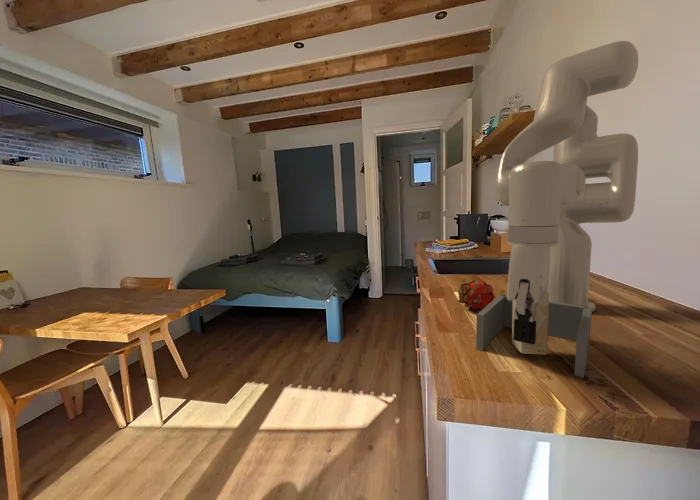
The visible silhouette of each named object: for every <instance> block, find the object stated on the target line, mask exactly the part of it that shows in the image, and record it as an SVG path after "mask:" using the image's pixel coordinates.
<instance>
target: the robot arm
mask: <svg viewBox="0 0 700 500" xmlns="http://www.w3.org/2000/svg"><path fill="white" fill-rule="evenodd" d="M638 68H639V53H638V50H637V48H636V46H635V45H634V44H633V43H632V42H630V41H627V40H617V41H614V42H610V43H607V44H603V45H600V46H597V47H594V48H591V49H588V50H585V51H582V52H581V51H580V52H578V53H575V54H572V55H569V56H566V57H564V58H562V59H560V60H557V61H556V62H554V63H553V64H551V65H550V66H549V67H548V68H547V69H546V71H545V72H544V74H543V77H542V78H541V81H540V82H541V83H540V89H539V93H538V97H537V103H536V106H535V107H536V108H535V112H534V117H533V121H532V122H530V123H529V124H528V125H527V126H526V127H525V128H523V129H522V131H520V132H519V133H518V134H517V135H516V136H515V137H514V138H513V139H512V140H511V142H509V144H508V145H507V146H506V148H505V149H504V151H503V153H502V154H501V156H500V160H499V163H498V168H497V172H496V177H495V182H494V196H495V199H496V200H497V202H498V203H499V204H500V205H502V206H504V207H508V215H507V216H508V217H507V245H509V246H511V250H510V254H509V255H510V256H509V264H508V265H509V266H508V275H507V277H508V278H507V286H506V287H507V288H506V289H507V290H506V295H507V300H508V301H510V302H512V301H513V300H514V299H515V298H516V297H517V301H516V308H515V317H514V340H516V341H520V342H524V343H529V344H535V341H536V321H534V317H535V309H536V305H538V304H540V303H541V302H542V299H543V295H544V292H545V291H547V292H548V293H549V301H551V302H558V303H565V304H572V305H579V306H586V307H592V312H595V310H596V304H595V303H593V302H592V301H590V300H589V292H590V291H589V289H590V276H591V275H590V273H591V261H592V260H591V259H592V239H591V236H590V235H589V233H587V231H586V230H585V229H583V227H581V225H580V224H590V223H591V224H601V223H603V224H604V223H605V224H606V223H611V224H612V223H623V222H625V221H627V220H629V219H630V218H631V217H632V215H633V214H634V210H635V205H636V194H637V193H636V192H637V179H638V178H637V177H638V165H639V164H638V163H639V144H638V141H637V139H636V137H635V136H633V134H629V133H615V134H607V135H602V136H598V123H599V122H598V121H599V118H598V115H597V114H596V112H595V111H594V110H593V109H592V108H591V107H590V106H588V105H587V103H588V97H592V96H596V95H600V94H605V93H607V92H608V93H609V92H612V91H617V90H622V89H625V88H627V87H629V86H630V85H631V84H632V82H633V81H634V79H635V77H636V75H637V72H638ZM552 147H553V151H552V152H553V156H552V160H537V161H529V162H527V161H528V160H529V159H531V158H532V157H534V156H536V155H537V154H539V153H541V152H543V151H545V150H548V149H549V148H552ZM594 178H595V179H597V178H607V179H608V180H610V181H609V182H607V181H605V182H596V183H595V182H593V183H592V182H591V183H586V179H594ZM529 289H530V290H529ZM527 299H531V300H533V302H532V303H531V302H527ZM527 306H529V307H531V310H530V311H529V309H528V308H527Z"/></svg>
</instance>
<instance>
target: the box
mask: <svg viewBox="0 0 700 500" xmlns="http://www.w3.org/2000/svg"><path fill="white" fill-rule="evenodd" d="M529 290H530V289H529ZM516 301H517V297H516V298H515V299H514V300H513V309H512V328H511V331H512V332H511V343H512V344H513V345H514V347H515V348H516V349H517V350H518V351H519V352H520V354H524V355H525V354H526V355H527V354H528V355H529V354H530V355H548V337H549V335H548V309H549V293H548V292H547V291H545V292H544V295H543V299H542V302H541V303H540V304H538V305H536V309H535V317H534V321H536V341H535V344H529V343H524V342H520V341H516V340H514V317H515V308H516ZM527 302H531V303H532V302H533V300H531V299H527ZM527 308H528V309H529V311H530V310H531V307H529V306H527Z"/></svg>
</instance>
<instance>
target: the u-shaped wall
mask: <svg viewBox="0 0 700 500" xmlns="http://www.w3.org/2000/svg"><path fill="white" fill-rule="evenodd" d="M512 309H513V301H512V302H510V301H508V300H507V294H499V295H497V297H495V298H494V300H493V301H492V302H491V303H490V304H488V305H487V306H486V307H485V308H484V309H483V310H479V311H478V312H477V313H476V334H475V335H476V338H475V339H476V340H475V341H476V343H475V345H476V347H475V349H476V350H478V351H482V352H483V351H484V350H485V349H486V348H487V346H488V345H489V344H490V343H491V341H493V339H495V337H496V336H497V334H499V332H501V330H502V329H503V328H504V327H507V328H510V329H512ZM592 315H593V314H592V307H586V306H579V305H572V304H565V303H558V302H551V301H549V309H548V337H549V336H550V337H555V338H559V339H560V338H561V339H563V340H564V339H565V340H569V341H573V342H575V356H574V357H575V358H574V360H575V361H574V376H576V377H579V378H583V379H584V378H585V373H586V372H585V371H586V366H587V361H588V360H587V359H588V356H589V355H588V353H589V347H590V340H591V328H592Z"/></svg>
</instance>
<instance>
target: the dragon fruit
mask: <svg viewBox="0 0 700 500" xmlns="http://www.w3.org/2000/svg"><path fill="white" fill-rule="evenodd" d="M457 293H458V295H457V296H458V299H459V300H458V302H459V303H460V304H462V305H463V304H464V307H465V308H468V309H469V310H470V311H474V310H475V309H478V310H479V311H481V310H483V309H484V308H485V307H486V306H487V305H488V304H490V303H491V302H492V301H493V300H494V299H495V298H496V295H495V294H494V288H493V286H492V285H491V284H489V283H487V282H486V281H485V280H483V279H482V280H478V281H477V280H475V279H474V280H471V281H468V282H465V283H462V284H461V285H460V288H459V290H458V292H457Z"/></svg>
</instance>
